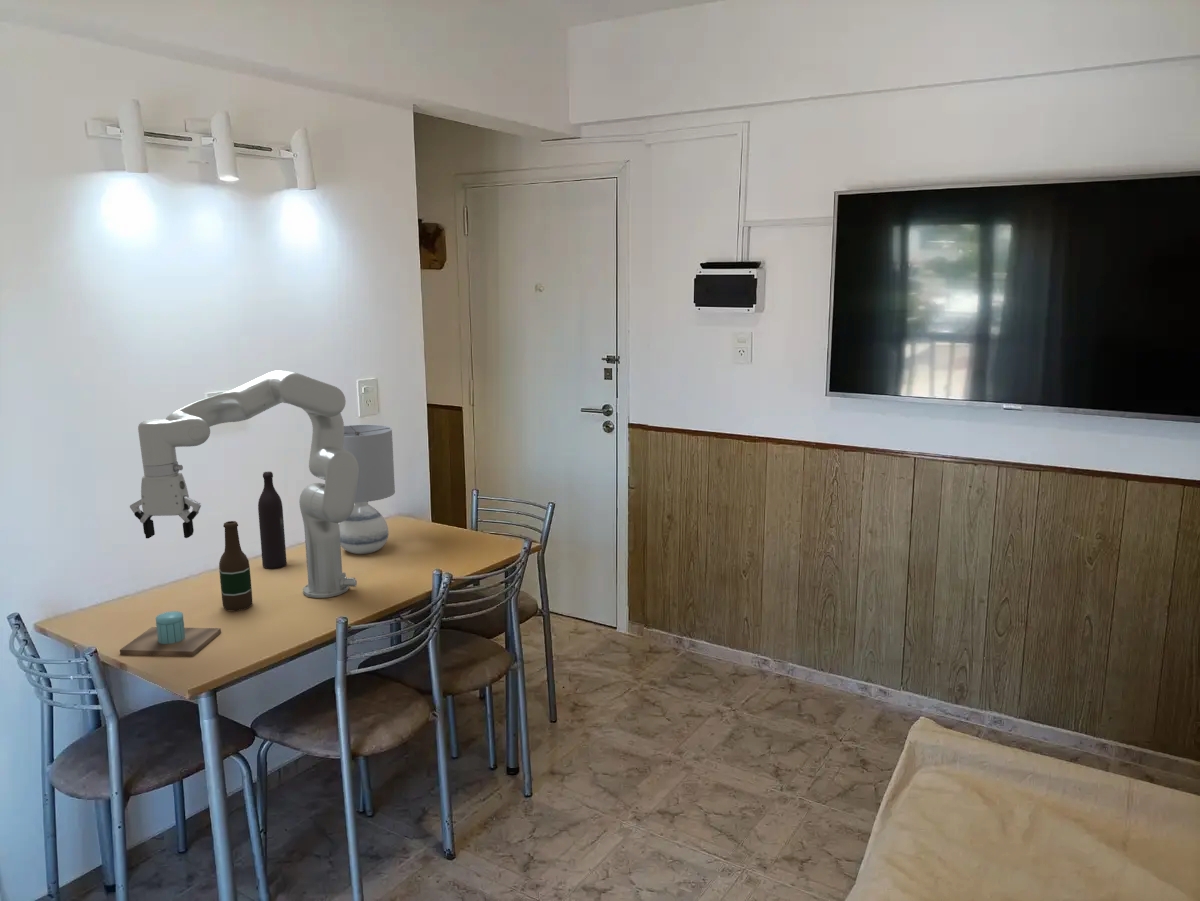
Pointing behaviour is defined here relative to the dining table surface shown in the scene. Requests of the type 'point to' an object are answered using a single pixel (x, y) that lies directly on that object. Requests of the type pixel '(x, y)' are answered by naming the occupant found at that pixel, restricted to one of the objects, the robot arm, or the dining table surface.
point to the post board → (185, 647)
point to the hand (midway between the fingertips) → (169, 536)
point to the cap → (170, 627)
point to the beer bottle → (234, 572)
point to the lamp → (368, 487)
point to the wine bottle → (271, 525)
